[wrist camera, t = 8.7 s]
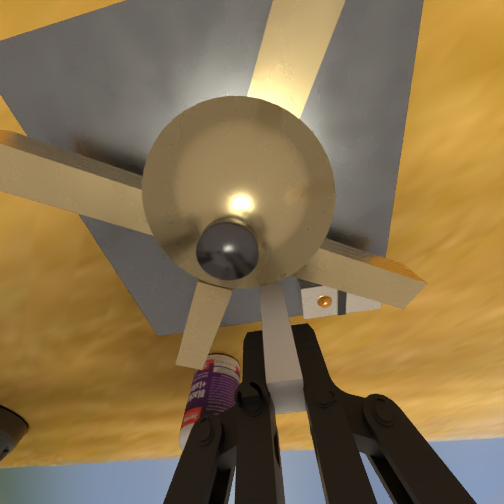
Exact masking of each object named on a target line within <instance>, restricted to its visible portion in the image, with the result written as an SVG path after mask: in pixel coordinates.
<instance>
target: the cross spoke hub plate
mask: <svg viewBox="0 0 504 504" xmlns="http://www.w3.org/2000/svg"><path fill="white" fill-rule="evenodd" d="M423 1H424V0H345V3H344V6H343V8H342V11H341V13H340V16H339V18H338V21H337V24H336V26H335V29H334V31H333V34H332V37H331V39H330V42H329V44H328V47H327V49H326V52H325V55H324V57H323V60H322V62H321V65H320V67H319V70H318V73H317V75H316V78H315V80H314V83H313V86H312V88H311V91H310V93H309V96H308V98H307V101H306V104H305V106H304V109H303V111H302V114H301V116H300V120H301V121H303V122H304V124H305V125H306V126H307V127H308V128H309V129H310V130H311V131H312V132H313V133H314V135H315V136H316V137H317V139H318V140H319V142H320V143H321V144H322V146H323V148H324V150H325V152H326V154H327V156H328V159H329V162H330V165H331V168H332V171H333V176H334V181H335V194H336V198H335V210H334V214H333V219H332V223H331V225H330V228H329V231H328V233H327V235H326V237H325V238H327V239H330V240H333V241H336V242H339V243H342V244H345V245H348V246H351V247H354V248H357V249H360V250H363V251H366V252H368V253H371V254H374V255H377V256H380V257H383V258H386V251H387V244H388V238H389V231H390V224H391V217H392V211H393V204H394V197H395V190H396V184H397V177H398V170H399V163H400V156H401V150H402V143H403V136H404V129H405V123H406V116H407V109H408V102H409V96H410V89H411V82H412V75H413V69H414V62H415V55H416V48H417V42H418V35H419V28H420V21H421V15H422V8H423ZM272 2H273V0H126V1H123V2H120V3H117V4H113V5H110V6H107V7H104V8H101V9H98V10H95V11H92V12H89V13H85V14H82V15H79V16H76V17H73V18H70V19H67V20H64V21H61V22H57V23H54V24H51V25H48V26H45V27H42V28H39V29H36V30H33V31H29V32H26V33H23V34H20V35H17V36H14V37H11V38H8V39H5V40H1V41H0V95H1V96H2V98H3V99H4V101H5V102H6V104H7V105H8V107H9V108H10V110H11V111H12V113H13V115H14V116H15V118H16V119H17V121H18V122H19V124H20V125H21V127H22V128H23V130H24V131H25V133H26V134H27V136H28V137H29V138H32V139H35V140H38V141H41V142H44V143H47V144H50V145H53V146H56V147H59V148H62V149H65V150H68V151H71V152H74V153H77V154H79V155H82V156H85V157H88V158H91V159H94V160H97V161H100V162H103V163H106V164H109V165H112V166H115V167H118V168H121V169H124V170H127V171H130V172H133V173H136V174H138V175H141V176H143V171H144V167H145V163H146V160H147V157H148V154H149V152H150V150H151V148H152V146H153V143H154V142H155V140H156V139H157V137H158V136H159V134H160V133H161V131H162V130H163V129H164V128H165V127H166V126H167V125H168V124H169V123H170V122H171V121H172V120H173V119H174V118H175V117H176V116H178V115H179V114H180V113H182V112H183V111H184V110H186V109H188V108H190V107H192V106H194V105H196V104H198V103H200V102H203V101H206V100H209V99H212V98H218V97H224V96H247V95H248V91H249V88H250V84H251V80H252V77H253V73H254V69H255V65H256V62H257V58H258V54H259V50H260V47H261V43H262V39H263V36H264V32H265V28H266V24H267V21H268V17H269V13H270V9H271V6H272ZM79 216H80V217H81V219H82V220H83V222H84V223H85V225H86V226H87V228H88V229H89V231H90V232H91V234H92V236H93V237H94V239H95V240H96V242H97V243H98V245H99V246H100V248H101V249H102V251H103V252H104V254H105V255H106V257H107V259H108V260H109V262H110V263H111V265H112V266H113V268H114V269H115V271H116V272H117V274H118V275H119V277H120V278H121V280H122V281H123V283H124V285H125V286H126V288H127V289H128V291H129V292H130V294H131V295H132V297H133V298H134V300H135V301H136V303H137V304H138V306H139V308H140V309H141V311H142V312H143V314H144V315H145V317H146V318H147V320H148V321H149V323H150V324H151V326H152V327H153V329H154V330H155V332H156V334H157V335H158V336H162V335H169V334H176V333H183V332H184V330H185V326H186V323H187V319H188V315H189V312H190V308H191V304H192V300H193V297H194V293H195V289H196V285H197V282H198V278H196V277H194V276H193V275H191V274H189V273H188V272H186V271H185V270H183V269H182V268H181V267H179V266H178V265H177V264H176V263H175V262H174V261H173V260H171V259H170V257H169V256H168V255H167V254H166V253H165V252H164V251H163V249H162V248H161V247H160V245H159V244H158V242H157V241H156V239H155V237H154V236H153V235H149V234H146V233H142V232H139V231H136V230H132V229H129V228H125V227H122V226H119V225H115V224H112V223H108V222H105V221H102V220H98V219H95V218H91V217H88V216H85V215H81V214H79ZM280 281H281V286H282V290H283V295H284V299H285V303H286V308H287V312H288V316H289V317H292V316H299V315H303V318H304V319H309V318H316V317H323V316H330V315H337V314H338V315H344V314H346V313H351V312H358V311H365V310H372V309H379V308H380V306H381V302H378V301H374V300H371V299H367V298H364V297H361V296H357V295H354V294H350V293H347V292H344V291H340V290H337V289H333V288H330V287H327V286H323V285H320V284H316V283H313V282H309V281H306V280H303V279H299V278H296V277H292V276H288V277H286V278H285V279H282V280H280ZM258 321H262V318H261V303H260V289H259V287H256V288H246V289H242V288H233V292H232V294H231V297H230V300H229V302H228V305H227V307H226V310H225V313H224V315H223V318H222V320H221V323H220V325H219V327H224V326H231V325H237V324H244V323H251V322H258Z"/></svg>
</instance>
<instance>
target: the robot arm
mask: <svg viewBox="0 0 504 504" xmlns="http://www.w3.org/2000/svg"><path fill="white" fill-rule="evenodd" d="M259 289H260V303H261V318H262V330H261V331H255V332H248V333H247V334H246V337H245V339H244V343H243V377H242V383H241V384H239V386H238V387H237V389H236V391H235V394H234V400H235V402H236V403H235V405H234V406H232V407H231V408H229V409H228V410H226V411H224V412H222V413H220V414H219V415H217V416H216V415H214V414H212V413H208V414H204V415H203V416H201V417H200V418H199V419H198V420H197V421H196V422H195V423H194V425H193V427H192V429H191V431H190V434H189V436H188V439H187V442H186V444H185V447H184V450H183V452H182V455H181V458H180V460H179V463H178V466H177V468H176V471H175V473H174V476H173V479H172V482H171V484H170V487H169V489H168V492H167V495H166V497H165V500H164V503H163V504H228V501H229V496H230V491H231V486H232V481H233V476H234V471H235V466H236V482H235V504H285V496H284V487H283V477H282V467H281V457H280V447H279V437H278V430H277V426H276V418H275V414H282V413H291V412H300V411H307V414H308V419H309V424H310V432H311V435H312V440H313V444H314V449H315V453H316V458H317V463H318V467H319V473H320V477H321V482H322V487H323V491H324V496H325V501H326V504H377V501H376V499H375V496H374V493H373V490H372V487H371V485H370V482H369V479H368V476H367V473H366V471H365V468H364V465H363V462H362V459H361V457H360V454H359V452H362V453H365V454H366V456H367V458H368V459H369V461H370V463H371V465H372V466H373V468H374V470H375V472H376V474H377V475H378V477H379V479H380V481H381V482H382V484H383V486H384V488H385V490H386V491H387V493H388V495H389V497H390V498H391V500H392V502H393V504H477V503H476V502H475V501H474V500H473V498H472V497H471V496H470V495H469V493H468V492H467V491H466V490H465V488H464V487H463V486H462V485H461V483H460V482H459V481H458V480H457V478H456V477H455V476H454V475H453V473H452V472H451V471H450V470H449V469H448V467H447V466H446V465H445V464H444V462H443V461H442V460H441V459H440V457H439V456H438V455H437V454H436V452H435V451H434V450H433V449H432V447H431V446H430V445H429V444H428V442H427V441H426V440H425V439H424V437H423V436H422V435H421V434H420V432H419V431H418V430H417V429H416V427H415V426H414V425H413V424H412V423H411V421H410V420H409V419H408V418H407V416H406V415H405V414H404V413H403V411H402V410H401V409H400V408H399V407H398V406H397V405H396V404H395V403H394V402H393V401H392V400H391V399H389V398H387V397H386V396H384V395H380V394H371V395H369V396H367V397H366V398H363V397H359V396H355V395H351V394H348V393H345V392H343V391H342V390H340V389H339V388H338V387H337V386H336V385H335V384H334V383H333V382H332V380H331V378H330V376H329V373H328V370H327V367H326V364H325V361H324V358H323V356H322V353H321V350H320V347H319V344H318V341H317V338H316V335H315V333H314V330H313V329H312V328H311V327H310V326H309V324H308V323H305V324H299V325H292V326H291V325H290V321H289V316H288V312H287V308H286V303H285V299H284V295H283V290H282V286H281V281H278V282H275V283H272V284H269V285H266V286H261V287H259ZM27 430H28V428H27V425H26V424H25V422H24V421H23V420H21V419H20V418H19V417H18V416H16V415H14V414H13V413H11V412H9V411H7V410H5V409H3V408H0V461H1V460H2V459H3V458H4V457H5V456H6V455H8V454H9V453H10V452H11V451H12V450H13V449H14V448H15V447H16V445H17V444H18V443H19V442H20V440H21V439H22V438H23V436H24V435H25V434H26V433H27Z"/></svg>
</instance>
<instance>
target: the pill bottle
mask: <svg viewBox="0 0 504 504" xmlns="http://www.w3.org/2000/svg"><path fill="white" fill-rule="evenodd" d="M239 384H240V366H239V364H238V362H237V361H236V360H235V359H233V358H231V357H229V356H226V355H219V354H215V355H208V356H207V359H206V362H205V364H204V367H203V369H202V370H200V369H196V370H195V374H194V378H193V382H192V386H191V390H190V394H189V398H188V401H187V405H186V409H185V413H184V418H183V421H182V425H181V429H180V434H179V445H180V447H181V449H182V450H184V447H185V444H186V442H187V439H188V436H189V434H190V431H191V429H192V427H193V425H194V423H195V422H196V421H197V420H198V419H199V418H200V417H201V416H203V415H204V414H208V413H212V414H214V415H216V416H217V415H219V414H220V413H222V412H224V411H226V410H228V409H229V408H231V407H232V406H234V405H235V403H236V402H235V400H234V394H235V391H236V389H237V387H238V386H239Z"/></svg>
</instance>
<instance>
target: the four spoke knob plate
mask: <svg viewBox="0 0 504 504" xmlns="http://www.w3.org/2000/svg"><path fill="white" fill-rule="evenodd" d="M344 3H345V0H273V2H272V6H271V9H270V13H269V17H268V21H267V24H266V28H265V32H264V36H263V39H262V43H261V47H260V50H259V54H258V58H257V62H256V65H255V69H254V73H253V77H252V80H251V84H250V88H249V91H248V95H247V96H224V97H218V98H212V99H209V100H206V101H203V102H200V103H198V104H196V105H194V106H192V107H190V108H188V109H186V110H184V111H183V112H182V113H180V114H179V115H178V116H176V117H175V118H174V119H173V120H172V121H171V122H170V123H169V124H168V125H167V126H166V127H165V128H164V129H163V130H162V131H161V133H160V134H159V136H158V137H157V139H156V140H155V142H154V143H153V146H152V148H151V150H150V152H149V154H148V157H147V160H146V163H145V167H144V171H143V176H141V175H138V174H136V173H133V172H130V171H127V170H124V169H121V168H118V167H115V166H112V165H109V164H106V163H103V162H100V161H97V160H94V159H91V158H88V157H85V156H82V155H79V154H77V153H74V152H71V151H68V150H65V149H62V148H59V147H56V146H53V145H50V144H47V143H44V142H41V141H38V140H35V139H32V138H29V137H26V136H23V135H21V134H18V133H15V132H12V131H6V130H0V191H3V192H6V193H10V194H13V195H16V196H20V197H23V198H27V199H30V200H33V201H37V202H40V203H44V204H47V205H50V206H54V207H57V208H61V209H64V210H67V211H71V212H74V213H78V214H81V215H85V216H88V217H91V218H95V219H98V220H102V221H105V222H108V223H112V224H115V225H119V226H122V227H125V228H129V229H132V230H136V231H139V232H142V233H146V234H149V235H153V236H154V237H155V239H156V241H157V242H158V244H159V245H160V247H161V248H162V249H163V251H164V252H165V253H166V254H167V255H168V256H169V257H170V259H171V260H173V261H174V262H175V263H176V264H177V265H178V266H179V267H181V268H182V269H183V270H185V271H186V272H188V273H189V274H191V275H193V276H194V277H196V278H198V282H197V285H196V289H195V293H194V297H193V300H192V304H191V308H190V312H189V315H188V319H187V323H186V326H185V330H184V334H183V338H182V341H181V345H180V349H179V353H178V356H177V360H176V364H175V365H179V366H184V367H189V368H195V369H200V370H202V369H203V367H204V364H205V362H206V359H207V356H208V354H209V351H210V349H211V346H212V343H213V341H214V338H215V336H216V333H217V331H218V328H219V325H220V323H221V320H222V318H223V315H224V313H225V310H226V307H227V305H228V302H229V300H230V297H231V294H232V292H233V288H242V289H246V288H256V287H261V286H266V285H269V284H272V283H275V282H278V281H280V280H282V279H285V278H286V277H288V276H292V277H296V278H299V279H303V280H306V281H309V282H313V283H316V284H320V285H323V286H327V287H330V288H333V289H337V290H340V291H344V292H347V293H350V294H354V295H357V296H361V297H364V298H367V299H371V300H374V301H378V302H381V303H384V304H388V305H391V306H395V307H398V308H402V309H404V308H405V307H406V306H407V305H408V304H409V302H410V301H411V300H412V299H413V298H414V297H415V296H416V295H417V294H418V293H419V292H420V291H421V290H422V289H423V288H424V287H425V286H426V285H427V284H428V283H426V282H425V281H424V280H423V279H421V278H420V277H419V276H417V275H416V274H415V273H414V272H412V271H411V270H410V269H409V268H407V267H406V266H405V265H403V264H401V263H398V262H395V261H392V260H389V259H386V258H383V257H380V256H377V255H374V254H371V253H368V252H366V251H363V250H360V249H357V248H354V247H351V246H348V245H345V244H342V243H339V242H336V241H333V240H330V239H327V238H325V237H326V235H327V233H328V231H329V228H330V225H331V223H332V219H333V214H334V210H335V198H336V194H335V181H334V176H333V171H332V168H331V165H330V162H329V159H328V156H327V154H326V152H325V150H324V148H323V146H322V144H321V143H320V142H319V140H318V139H317V137H316V136H315V135H314V133H313V132H312V131H311V130H310V129H309V128H308V127H307V126H306V125H305V124H304V122H303V121H301V120H300V116H301V114H302V111H303V109H304V106H305V104H306V101H307V98H308V96H309V93H310V91H311V88H312V86H313V83H314V80H315V78H316V75H317V73H318V70H319V67H320V65H321V62H322V60H323V57H324V55H325V52H326V49H327V47H328V44H329V42H330V39H331V37H332V34H333V31H334V29H335V26H336V24H337V21H338V18H339V16H340V13H341V11H342V8H343V6H344Z"/></svg>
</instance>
